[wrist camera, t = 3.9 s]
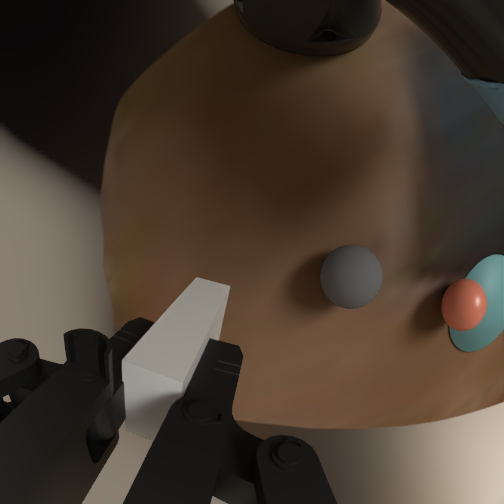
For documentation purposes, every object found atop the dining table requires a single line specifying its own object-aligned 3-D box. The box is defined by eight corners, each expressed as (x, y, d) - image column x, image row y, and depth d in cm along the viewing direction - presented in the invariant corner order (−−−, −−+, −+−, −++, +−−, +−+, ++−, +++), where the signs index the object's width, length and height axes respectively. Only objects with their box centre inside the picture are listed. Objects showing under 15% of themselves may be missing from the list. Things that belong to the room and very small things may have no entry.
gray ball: (305, 275, 27) (311, 296, 21) (339, 228, 25) (354, 238, 20) (348, 305, 27) (362, 330, 21) (381, 260, 25) (404, 277, 20)
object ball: (424, 304, 26) (448, 326, 21) (452, 263, 25) (481, 277, 19) (449, 326, 26) (472, 347, 21) (475, 288, 25) (502, 304, 20)
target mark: (432, 346, 27) (433, 347, 27) (472, 242, 24) (473, 242, 24) (492, 353, 26) (493, 354, 26) (527, 267, 23) (528, 267, 23)
